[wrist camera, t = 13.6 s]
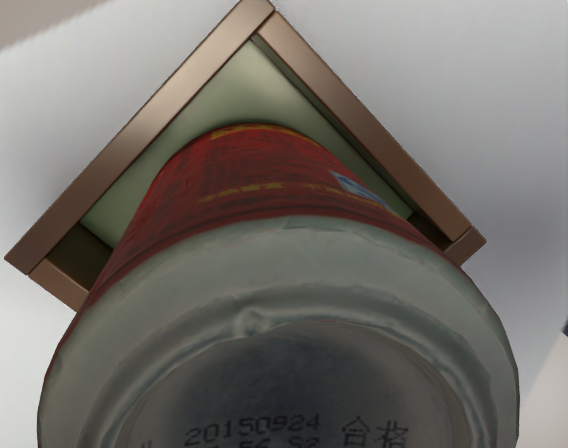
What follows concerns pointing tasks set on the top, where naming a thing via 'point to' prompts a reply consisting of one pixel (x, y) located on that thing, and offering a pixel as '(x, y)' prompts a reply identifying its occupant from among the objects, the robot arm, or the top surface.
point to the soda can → (277, 317)
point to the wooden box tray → (218, 113)
